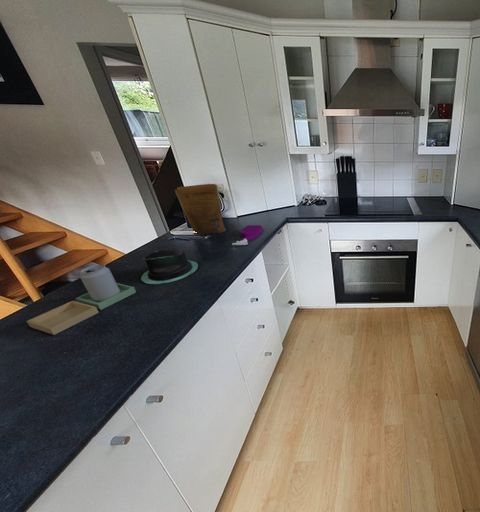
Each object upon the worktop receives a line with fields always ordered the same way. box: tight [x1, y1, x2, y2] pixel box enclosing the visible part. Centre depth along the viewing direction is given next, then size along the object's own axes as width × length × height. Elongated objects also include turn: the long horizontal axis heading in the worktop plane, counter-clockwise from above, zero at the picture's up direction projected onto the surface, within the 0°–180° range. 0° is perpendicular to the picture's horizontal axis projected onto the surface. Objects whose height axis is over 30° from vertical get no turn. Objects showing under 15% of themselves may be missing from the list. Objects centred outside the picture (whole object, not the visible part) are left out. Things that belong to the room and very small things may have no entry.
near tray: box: [26, 300, 100, 336], centre depth 88 cm, size 11×11×2 cm
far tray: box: [75, 282, 137, 311], centre depth 99 cm, size 11×11×2 cm
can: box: [79, 264, 120, 302], centre depth 97 cm, size 8×8×12 cm
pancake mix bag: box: [174, 183, 227, 236], centre depth 151 cm, size 7×19×28 cm, turn 112°
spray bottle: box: [231, 224, 264, 246], centre depth 152 cm, size 3×11×24 cm
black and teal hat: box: [140, 248, 199, 285], centre depth 117 cm, size 15×19×20 cm
